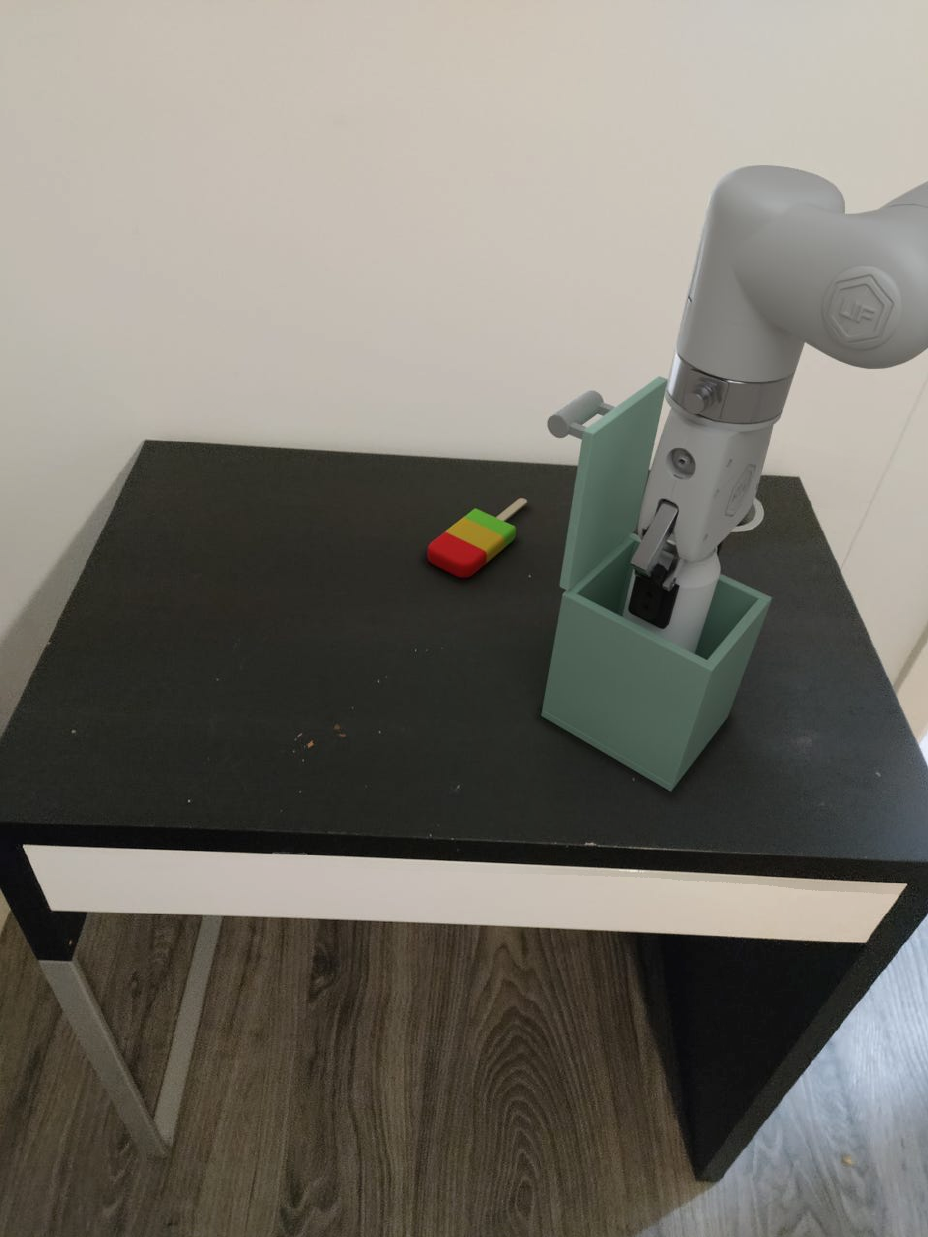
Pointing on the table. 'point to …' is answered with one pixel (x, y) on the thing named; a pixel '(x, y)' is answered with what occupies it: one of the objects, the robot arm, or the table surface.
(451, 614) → the table surface
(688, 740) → the pale green hollow box
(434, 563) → the popsicle
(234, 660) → the table surface
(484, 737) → the table surface
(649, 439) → the lid
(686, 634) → the beverage can
